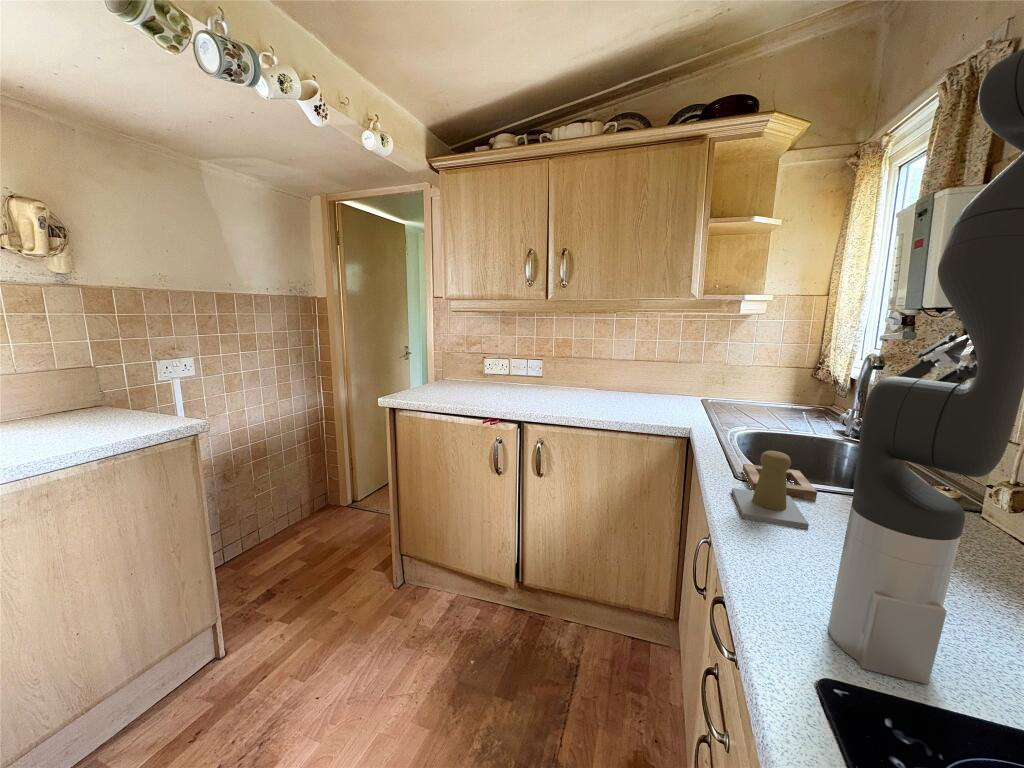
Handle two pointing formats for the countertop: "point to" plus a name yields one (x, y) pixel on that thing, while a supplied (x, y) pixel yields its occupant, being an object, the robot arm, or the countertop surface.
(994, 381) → the robot arm
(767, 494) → the cork
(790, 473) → the walnut socket
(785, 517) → the slate pad
